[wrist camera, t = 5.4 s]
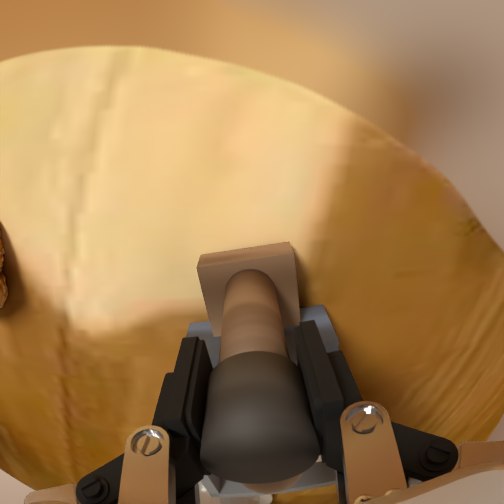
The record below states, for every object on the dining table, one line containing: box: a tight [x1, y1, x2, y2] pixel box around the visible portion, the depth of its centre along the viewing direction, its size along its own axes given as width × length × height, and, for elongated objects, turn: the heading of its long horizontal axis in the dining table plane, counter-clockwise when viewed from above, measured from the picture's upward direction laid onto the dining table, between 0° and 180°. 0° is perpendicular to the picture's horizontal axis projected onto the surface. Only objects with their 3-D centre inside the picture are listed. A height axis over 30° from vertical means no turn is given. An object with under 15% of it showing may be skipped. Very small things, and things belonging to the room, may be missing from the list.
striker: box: [186, 242, 339, 494], centre depth 13 cm, size 6×8×12 cm
